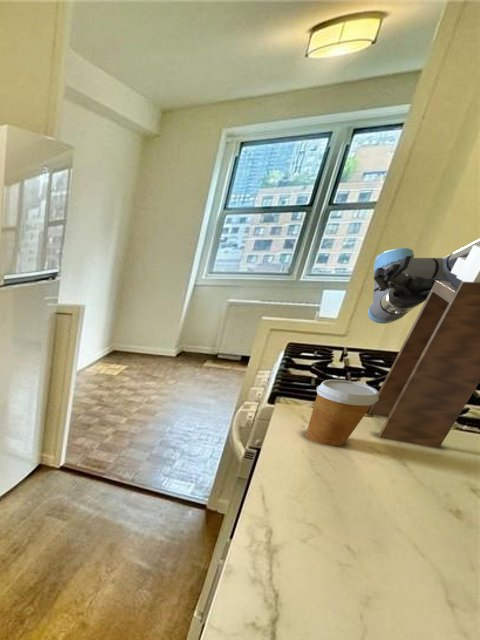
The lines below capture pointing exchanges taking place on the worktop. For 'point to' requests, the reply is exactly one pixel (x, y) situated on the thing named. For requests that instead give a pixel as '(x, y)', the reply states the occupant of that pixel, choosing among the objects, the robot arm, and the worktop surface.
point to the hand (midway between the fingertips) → (448, 263)
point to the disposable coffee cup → (339, 410)
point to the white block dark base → (466, 268)
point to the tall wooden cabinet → (433, 368)
